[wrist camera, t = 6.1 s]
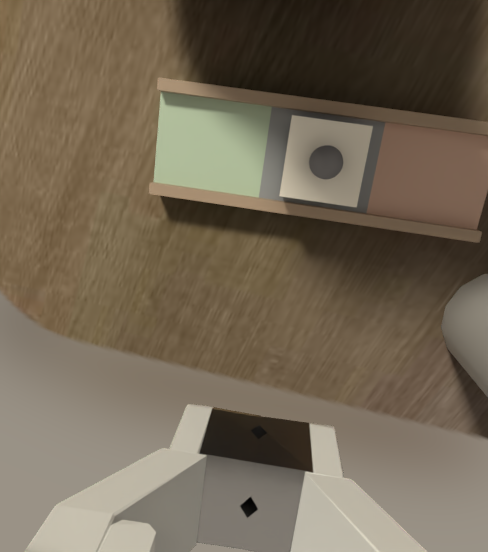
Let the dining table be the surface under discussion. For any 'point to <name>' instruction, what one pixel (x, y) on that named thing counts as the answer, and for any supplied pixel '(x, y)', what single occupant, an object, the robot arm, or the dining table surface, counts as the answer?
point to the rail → (272, 150)
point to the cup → (469, 329)
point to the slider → (325, 160)
